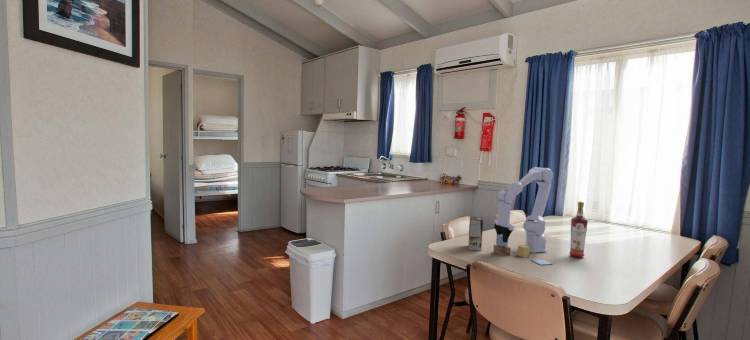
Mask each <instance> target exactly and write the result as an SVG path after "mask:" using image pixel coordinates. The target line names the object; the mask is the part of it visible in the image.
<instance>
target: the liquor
mask: <svg viewBox="0 0 750 340" xmlns="http://www.w3.org/2000/svg"><path fill="white" fill-rule="evenodd" d="M584 204H585V203H584V201H577V211H576V216H574V217H572V218H571V219H570V220H571V221H570V250H569V253H568V254H569V255H570V256H571V257H573V258H577V259H581V258H584V256H585V244H586V236H587V229H588V222H589V220H588V219H587V218H585V217H584V206H585V205H584Z"/></svg>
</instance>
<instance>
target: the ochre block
mask: <svg viewBox="0 0 750 340" xmlns="http://www.w3.org/2000/svg"><path fill="white" fill-rule="evenodd" d="M529 251H530V247H529V246H526V244H518V245H517V252H516V253H517V254H516V255H517V256H518V257H520V258H528V257H530V252H529Z"/></svg>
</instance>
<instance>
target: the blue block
mask: <svg viewBox="0 0 750 340" xmlns="http://www.w3.org/2000/svg"><path fill="white" fill-rule="evenodd" d="M508 243H509V240H508V241H507V242H503V235H502V234H497V233H496V240H495V245H499V246H508V247H509V245H508Z"/></svg>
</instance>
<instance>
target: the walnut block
mask: <svg viewBox="0 0 750 340" xmlns="http://www.w3.org/2000/svg"><path fill="white" fill-rule="evenodd" d="M511 249H512V248H511V247H510V246H509V245H508V246H499V245H497V244H493V253H495V254H496V255H497V256H501V257H502V256H511Z"/></svg>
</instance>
